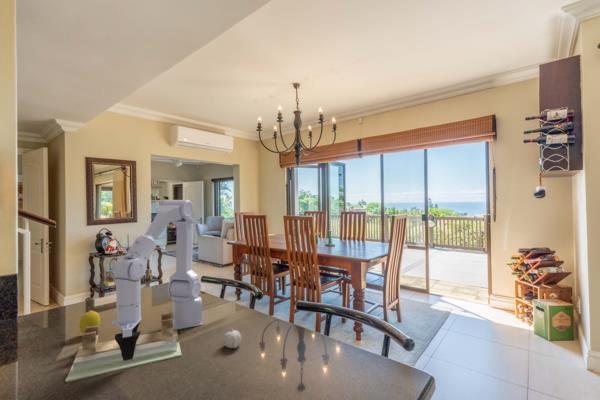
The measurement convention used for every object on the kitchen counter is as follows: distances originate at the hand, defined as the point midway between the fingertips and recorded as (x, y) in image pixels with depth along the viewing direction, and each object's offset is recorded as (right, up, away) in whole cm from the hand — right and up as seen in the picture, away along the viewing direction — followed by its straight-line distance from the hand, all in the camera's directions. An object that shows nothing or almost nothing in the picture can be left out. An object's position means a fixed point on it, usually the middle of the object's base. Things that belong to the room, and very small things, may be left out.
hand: (129, 352), depth 80 cm
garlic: (+26, -3, +8) cm, 28 cm away
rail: (0, -2, 0) cm, 2 cm away
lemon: (-21, -2, +15) cm, 26 cm away
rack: (-5, -2, +9) cm, 10 cm away
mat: (0, -2, 0) cm, 2 cm away
